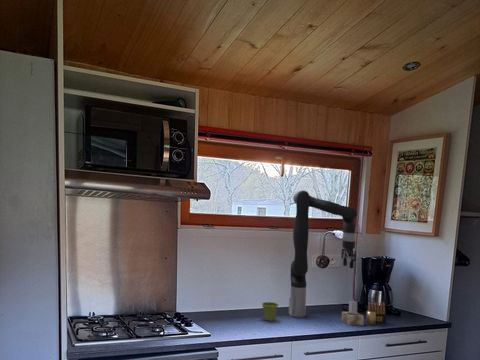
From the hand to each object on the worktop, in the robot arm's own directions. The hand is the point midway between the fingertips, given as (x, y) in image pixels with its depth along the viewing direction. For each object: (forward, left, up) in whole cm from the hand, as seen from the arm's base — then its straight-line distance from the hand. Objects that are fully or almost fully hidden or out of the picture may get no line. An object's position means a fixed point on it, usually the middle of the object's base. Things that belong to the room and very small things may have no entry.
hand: (348, 266), depth 230 cm
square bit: (-2, -11, -30) cm, 32 cm away
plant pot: (-50, -4, -30) cm, 58 cm away
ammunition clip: (+13, -11, -30) cm, 35 cm away
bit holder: (-2, -11, -30) cm, 32 cm away
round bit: (+8, -14, -30) cm, 34 cm away
